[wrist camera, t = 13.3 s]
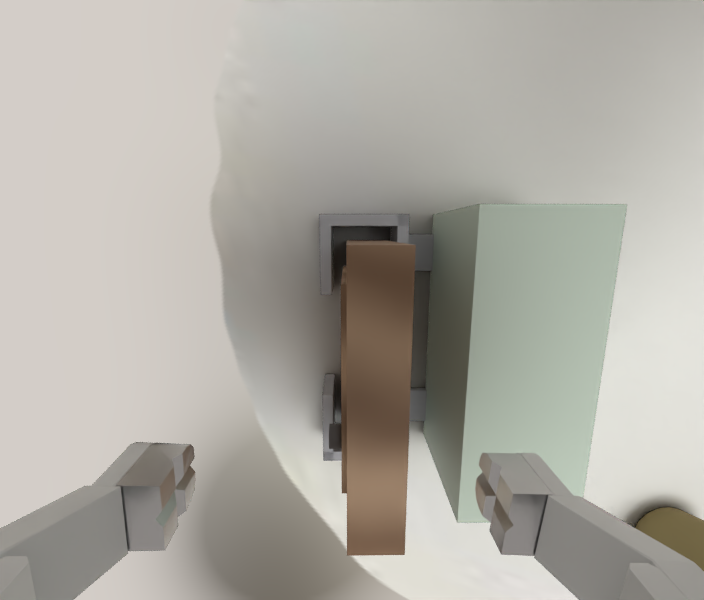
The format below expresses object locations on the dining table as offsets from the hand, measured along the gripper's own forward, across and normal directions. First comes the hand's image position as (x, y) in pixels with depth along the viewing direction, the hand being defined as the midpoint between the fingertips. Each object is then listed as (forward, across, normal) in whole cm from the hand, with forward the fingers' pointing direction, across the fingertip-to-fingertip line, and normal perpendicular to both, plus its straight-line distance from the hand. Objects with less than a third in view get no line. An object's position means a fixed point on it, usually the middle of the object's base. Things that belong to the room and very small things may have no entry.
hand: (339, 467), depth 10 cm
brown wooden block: (+20, -2, +3) cm, 20 cm away
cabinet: (+20, -7, +2) cm, 21 cm away
